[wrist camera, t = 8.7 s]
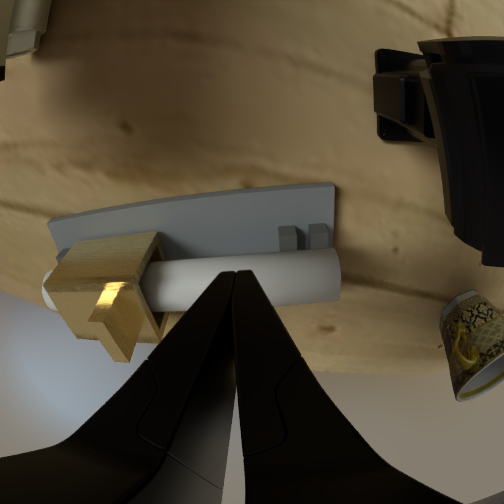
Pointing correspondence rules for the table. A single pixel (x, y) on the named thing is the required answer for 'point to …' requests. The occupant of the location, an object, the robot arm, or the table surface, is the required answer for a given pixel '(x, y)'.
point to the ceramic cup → (473, 344)
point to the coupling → (108, 292)
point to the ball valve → (21, 28)
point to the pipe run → (224, 242)
